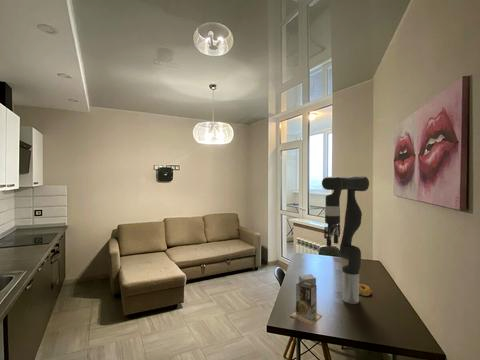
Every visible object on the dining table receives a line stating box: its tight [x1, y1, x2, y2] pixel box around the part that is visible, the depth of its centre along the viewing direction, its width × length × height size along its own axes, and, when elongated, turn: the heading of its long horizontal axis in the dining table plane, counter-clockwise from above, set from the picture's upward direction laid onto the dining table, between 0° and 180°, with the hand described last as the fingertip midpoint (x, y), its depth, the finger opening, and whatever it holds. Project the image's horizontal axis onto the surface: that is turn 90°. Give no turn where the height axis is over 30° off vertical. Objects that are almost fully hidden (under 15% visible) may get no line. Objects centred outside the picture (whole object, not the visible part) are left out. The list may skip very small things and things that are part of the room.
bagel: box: [359, 283, 372, 297], centre depth 166 cm, size 10×11×5 cm
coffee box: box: [295, 281, 318, 320], centre depth 136 cm, size 9×6×16 cm
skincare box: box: [298, 273, 317, 285], centre depth 151 cm, size 8×7×16 cm
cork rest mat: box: [289, 311, 323, 326], centre depth 136 cm, size 12×12×1 cm
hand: (332, 244), depth 137 cm, fingers open, 8 cm apart
